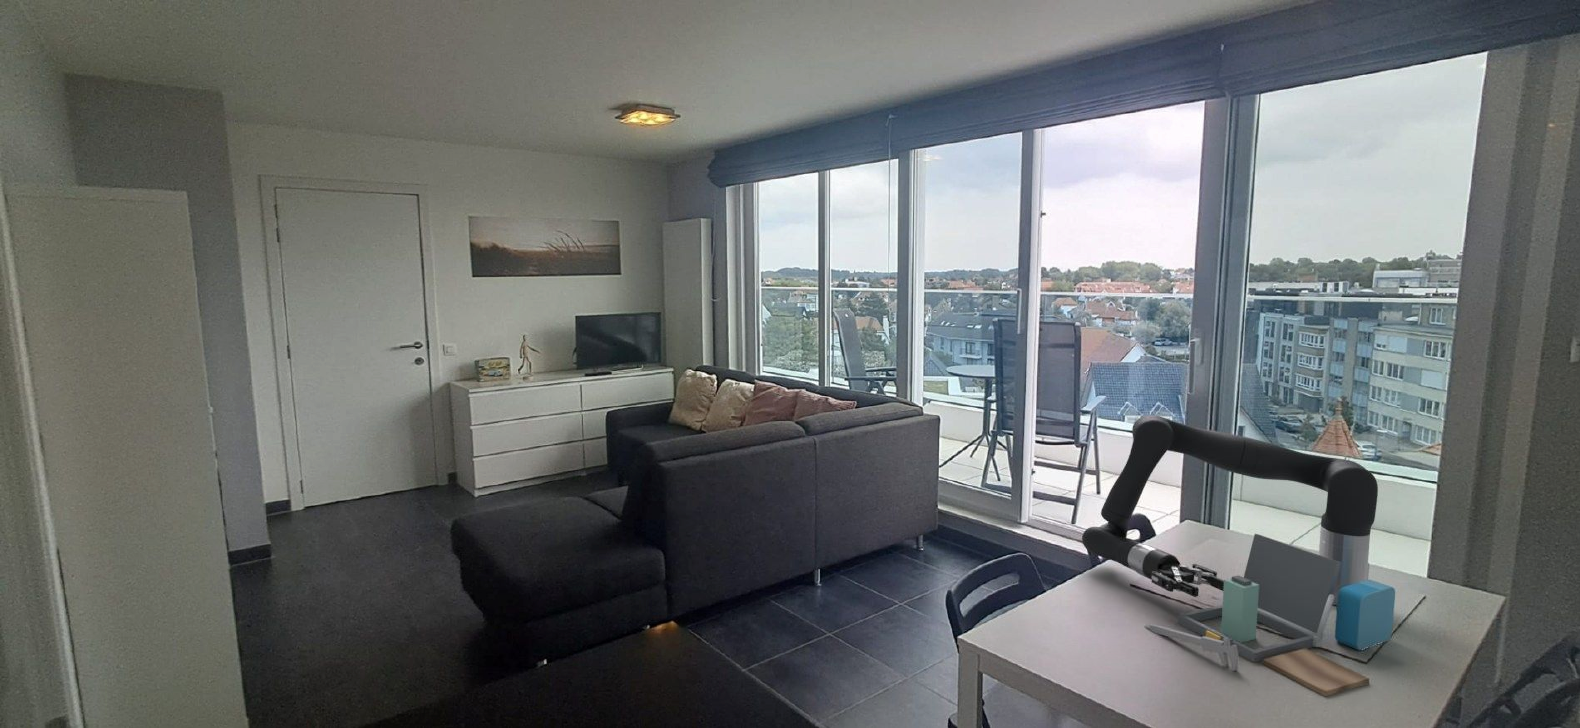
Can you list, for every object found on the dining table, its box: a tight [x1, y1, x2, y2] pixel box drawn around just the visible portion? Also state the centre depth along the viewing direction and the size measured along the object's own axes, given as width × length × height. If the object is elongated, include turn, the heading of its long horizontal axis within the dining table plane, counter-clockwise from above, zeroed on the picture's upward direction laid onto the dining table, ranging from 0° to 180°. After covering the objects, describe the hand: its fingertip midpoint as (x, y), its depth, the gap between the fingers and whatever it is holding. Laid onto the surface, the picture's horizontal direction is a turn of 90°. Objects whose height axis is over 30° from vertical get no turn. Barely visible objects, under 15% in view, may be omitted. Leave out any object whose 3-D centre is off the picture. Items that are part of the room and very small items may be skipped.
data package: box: [1334, 579, 1396, 651], centre depth 150 cm, size 12×4×12 cm, turn 114°
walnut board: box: [1262, 648, 1370, 697], centre depth 139 cm, size 12×12×1 cm
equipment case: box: [1177, 533, 1341, 663], centre depth 154 cm, size 24×19×18 cm
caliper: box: [1144, 623, 1240, 672], centre depth 149 cm, size 20×1×6 cm, turn 25°
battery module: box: [1220, 575, 1259, 644], centre depth 153 cm, size 4×4×13 cm
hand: (1211, 589), depth 160 cm, fingers open, 8 cm apart
